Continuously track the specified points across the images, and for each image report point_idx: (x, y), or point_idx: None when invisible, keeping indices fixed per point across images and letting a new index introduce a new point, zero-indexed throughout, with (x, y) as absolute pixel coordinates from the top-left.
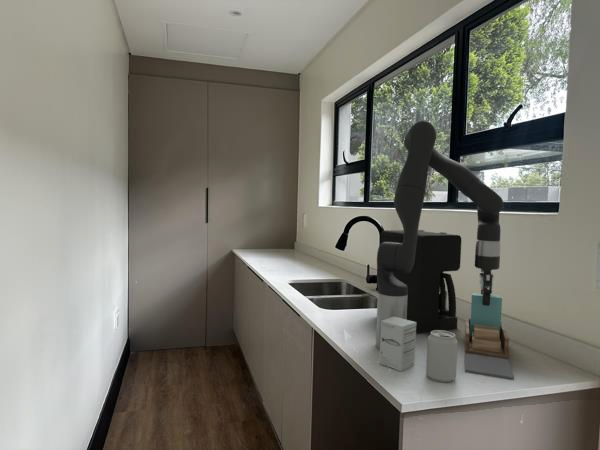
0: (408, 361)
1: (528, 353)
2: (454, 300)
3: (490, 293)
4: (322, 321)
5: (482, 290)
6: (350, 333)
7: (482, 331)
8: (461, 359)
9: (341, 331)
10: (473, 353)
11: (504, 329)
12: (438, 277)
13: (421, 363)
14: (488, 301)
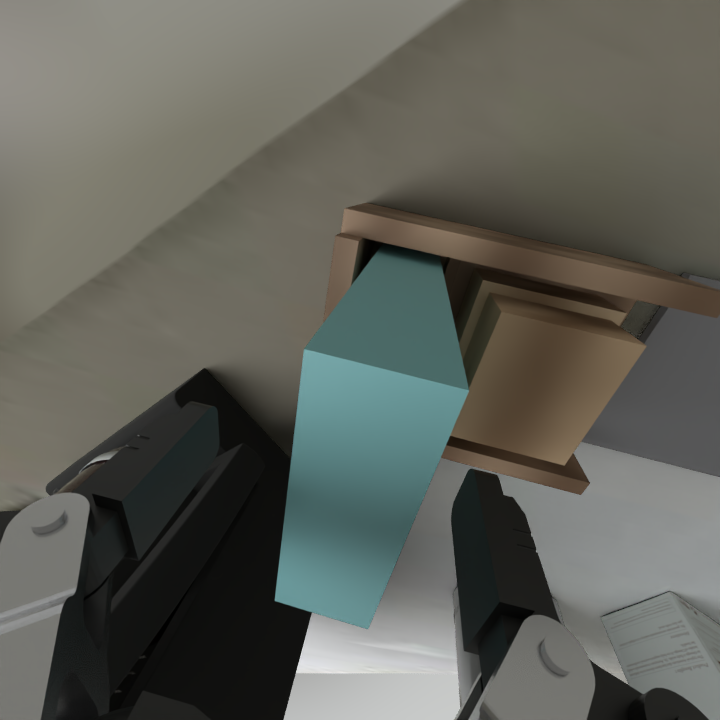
0: (714, 633)
1: (546, 87)
2: (198, 532)
3: (672, 701)
4: (307, 661)
5: (154, 529)
6: (390, 640)
7: (583, 427)
8: (628, 459)
9: (378, 650)
10: None
11: (466, 245)
12: None
13: (656, 571)
14: (526, 531)
